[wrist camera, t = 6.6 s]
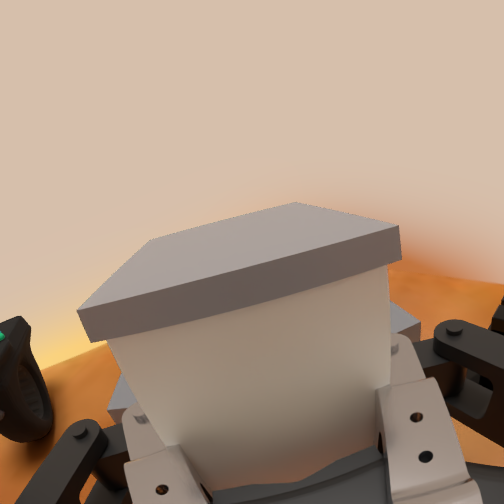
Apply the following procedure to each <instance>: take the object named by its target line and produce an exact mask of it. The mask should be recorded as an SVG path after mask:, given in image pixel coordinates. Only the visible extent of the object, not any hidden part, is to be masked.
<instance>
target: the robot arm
mask: <svg viewBox="0 0 504 504" xmlns="http://www.w3.org/2000/svg"><path fill="white" fill-rule="evenodd" d="M468 369H469V370H471V371H473V372H476V373H478V374H480V375H482V376H484V377H486V378H488V379H489V380H490V381H491V382H492V384H493V391H491V390H489V389H487V388H485V387H483V386H481V385H479V384H477V383H475V382H473V381H471V380H469V379H467V378H466V375H467V370H468ZM450 416H451V417H453V418H454V419H456V420H458V421H459V422H461V423H463V424H464V425H466V426H468V427H469V428H471V429H473V430H474V431H476V432H478V433H479V434H481V435H483V436H484V437H486V438H488V439H490V440H491V441H493V442H495V443H496V444H498V445H500V446H502V447H503V448H504V336H503V335H501V334H498V333H495V332H493V331H490V330H487V329H485V328H482V327H479V326H477V325H474V324H471V323H468V322H466V321H463V320H456V319H455V320H447V321H444V322H441V323H440V324H438V325H437V326H436V328H435V330H434V338H432V339H427V340H423V341H419V342H411V340H410V339H409V338H408V337H406V336H405V335H402V334H398V333H391V369H390V384H388V385H386V386H384V387H381V388H377V389H376V390H375V436H374V440H373V445H372V446H370V447H368V448H366V449H363V450H361V451H358V452H356V453H354V454H351V455H348V456H346V457H343V458H341V459H338V460H336V461H334V462H333V463H331V464H329V465H328V466H326V467H324V468H322V469H321V470H319V471H317V472H315V473H314V474H312V475H310V476H308V477H306V478H304V479H302V480H300V481H297V482H290V483H273V484H250V485H245V486H240V487H234V488H228V489H222V490H215V491H212V490H211V489H210V487H208V486H207V485H206V483H205V482H204V481H203V479H202V478H201V477H200V475H199V474H198V472H197V471H196V470H195V468H194V466H193V465H192V463H191V462H190V460H189V458H188V456H187V455H186V453H185V452H184V450H183V449H182V447H181V446H180V444H176V445H173V446H165V444H164V443H163V441H162V440H161V438H160V437H159V435H158V434H157V432H156V431H155V429H154V427H153V426H152V424H151V423H150V421H149V419H148V418H147V416H146V414H145V413H144V411H143V409H142V408H141V406H140V404H139V403H138V402H136V403H134V404H132V405H131V406H129V407H128V408H127V409H126V410H125V412H124V413H123V416H122V423H119V424H117V425H114V426H111V427H107V428H104V429H101V427H100V426H99V424H98V423H97V422H96V421H94V420H91V419H84V420H80V421H77V422H75V423H74V424H72V425H71V426H70V427H68V429H67V430H66V431H65V432H64V434H63V435H62V436H61V438H60V439H59V441H58V442H57V443H56V445H55V446H54V447H53V449H52V450H51V452H50V453H49V454H48V456H47V457H46V459H45V460H44V461H43V463H42V464H41V466H40V467H39V468H38V470H37V471H36V473H35V474H34V476H33V477H32V479H31V480H30V481H29V483H28V484H27V486H26V487H25V489H24V490H23V492H22V493H21V495H20V496H19V498H18V499H17V501H16V502H15V504H81V503H80V500H79V494H80V491H81V490H82V488H83V486H84V484H85V483H86V481H87V479H88V477H89V476H90V474H92V475H93V476H94V477H95V478H96V479H97V481H96V483H95V485H94V486H93V488H92V490H91V492H90V494H89V496H88V497H87V499H86V501H85V503H84V504H132V503H133V504H504V467H498V466H490V465H483V464H477V463H471V462H465V460H464V457H463V454H462V450H461V447H460V444H459V441H458V438H457V435H456V432H455V429H454V426H453V423H452V420H451V417H450Z"/></svg>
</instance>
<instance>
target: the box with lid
mask: <svg viewBox="0 0 504 504" xmlns="http://www.w3.org/2000/svg"><path fill="white" fill-rule="evenodd" d="M399 260H402V255H401V244H400V234H399V226H398V225H395V224H391V223H387V222H383V221H379V220H375V219H370V218H366V217H362V216H357V215H353V214H349V213H344V212H339V211H335V210H331V209H326V208H321V207H317V206H312V205H307V204H302V203H297V202H294V203H290V204H286V205H282V206H278V207H273V208H269V209H265V210H261V211H257V212H253V213H249V214H245V215H241V216H237V217H233V218H229V219H225V220H221V221H218V222H214V223H210V224H206V225H202V226H199V227H195V228H191V229H188V230H184V231H180V232H177V233H173V234H169V235H166V236H162V237H159V238H155V239H152V240H150V241H149V242H147V243H146V244H145V245H144V246H143V247H142V248H141V249H140V250H139V251H137V252H136V253H135V254H134V255H133V256H132V257H131V258H130V259H129V260H128V261H127V262H126V263H124V264H123V265H122V266H121V267H120V268H119V269H118V270H117V271H116V272H115V273H114V274H113V275H112V276H111V277H110V278H109V279H108V280H107V281H106V282H105V283H103V284H102V285H101V286H100V287H99V288H98V289H97V291H95V292H94V293H93V294H92V295H91V296H90V298H88V299H87V300H86V301H85V302H84V304H82V305H81V307H79V308H78V310H77V313H78V315H79V317H80V320H81V322H82V324H83V327H84V329H85V331H86V333H87V336H88V338H89V340H90V342H91V343H93V342H98V341H103V340H106V341H107V343H108V345H109V347H110V349H111V351H112V354H113V356H114V358H115V360H116V362H117V364H118V366H119V368H120V370H121V372H122V374H123V375H124V377H125V379H126V381H127V383H128V385H129V387H130V388H131V390H132V392H133V394H134V396H135V397H136V399H137V401H138V403H139V404H140V406H141V408H142V409H143V411H144V413H145V414H146V416H147V418H148V419H149V421H150V423H151V424H152V426H153V427H154V429H155V431H156V432H157V434H158V435H159V437H160V438H161V440H162V441H163V443H164V444H165V446H173V445H176V444H180V446H181V447H182V449H183V450H184V452H185V453H186V455H187V456H188V458H189V460H190V462H191V463H192V465H193V466H194V468H195V470H196V471H197V472H198V474H199V475H200V477H201V478H202V479H203V481H204V482H205V483H206V485H207V486H208V487H210V489H211V490H212V491H215V490H222V489H228V488H234V487H240V486H245V485H250V484H273V483H290V482H297V481H300V480H302V479H304V478H306V477H308V476H310V475H312V474H314V473H315V472H317V471H319V470H321V469H322V468H324V467H326V466H328V465H329V464H331V463H333V462H334V461H336V460H338V459H341V458H343V457H346V456H348V455H351V454H354V453H356V452H358V451H361V450H363V449H366V448H368V447H370V446H372V445H373V440H374V436H375V390H376V389H377V388H381V387H384V386H386V385H388V384H390V369H391V323H390V298H389V282H388V269H387V264H390V263H393V262H396V261H399Z"/></svg>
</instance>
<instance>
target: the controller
mask: <svg viewBox="0 0 504 504" xmlns="http://www.w3.org/2000/svg"><path fill="white" fill-rule="evenodd" d="M30 337H31V326H30V325H28V323H27V322H26V321H25V320H24V318H23V317H22V316H16V317H14V318H11V319H9V320H6V321H4V322H2V323H0V434H2V435H3V436H5V437H6V438H8V439H10V440H12V441H15V442H20V443H24V442H30V441H33V440H37V439H40V438H42V437H44V436H45V435H46V434H47V433H48V432H49V430H50V428H51V426H52V421H53V413H52V406H51V402H50V398H49V394H48V391H47V388H46V385H45V382H44V379H43V377H42V374H41V372H40V369H39V367H38V365H37V363H36V361H35V359H34V356H33V354H32V351H31V348H30Z"/></svg>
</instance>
